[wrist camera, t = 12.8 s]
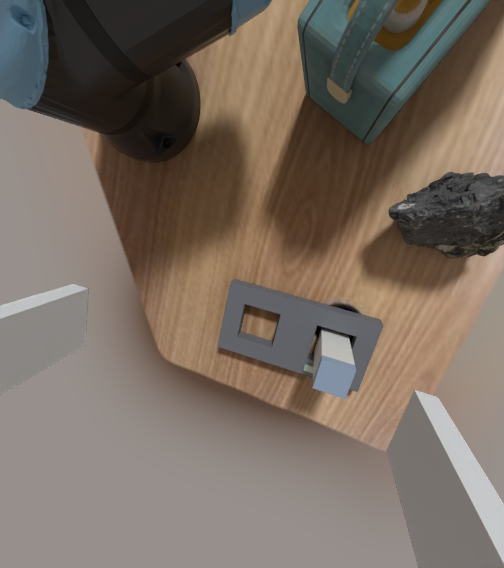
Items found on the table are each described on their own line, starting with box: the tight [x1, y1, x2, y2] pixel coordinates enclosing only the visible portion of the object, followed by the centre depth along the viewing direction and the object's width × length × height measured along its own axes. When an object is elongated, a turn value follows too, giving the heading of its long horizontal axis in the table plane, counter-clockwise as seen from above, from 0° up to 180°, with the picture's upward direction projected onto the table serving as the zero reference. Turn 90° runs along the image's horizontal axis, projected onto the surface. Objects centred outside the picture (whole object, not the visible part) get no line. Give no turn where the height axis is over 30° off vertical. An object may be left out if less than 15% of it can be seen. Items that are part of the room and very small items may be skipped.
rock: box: [389, 172, 504, 258], centre depth 33 cm, size 12×10×10 cm
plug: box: [312, 327, 356, 399], centre depth 39 cm, size 4×4×10 cm
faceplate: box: [218, 279, 383, 392], centre depth 43 cm, size 22×11×2 cm, turn 77°
